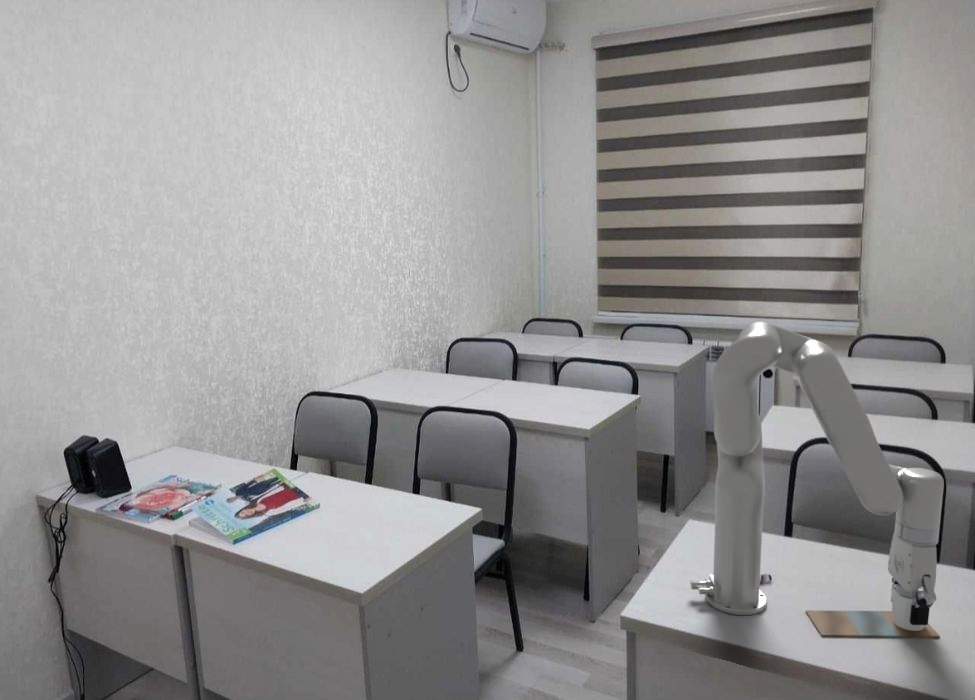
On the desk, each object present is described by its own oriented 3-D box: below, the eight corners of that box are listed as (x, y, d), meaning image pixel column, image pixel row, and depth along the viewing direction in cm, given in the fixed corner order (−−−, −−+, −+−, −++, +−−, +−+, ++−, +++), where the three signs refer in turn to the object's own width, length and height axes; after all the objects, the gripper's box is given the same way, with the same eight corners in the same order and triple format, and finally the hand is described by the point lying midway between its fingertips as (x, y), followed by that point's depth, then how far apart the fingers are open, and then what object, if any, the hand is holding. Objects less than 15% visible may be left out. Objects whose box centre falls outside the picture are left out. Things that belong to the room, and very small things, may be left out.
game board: (821, 636, 148) (821, 634, 148) (805, 612, 157) (805, 610, 157) (939, 637, 147) (939, 636, 147) (916, 613, 156) (917, 611, 155)
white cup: (882, 614, 155) (884, 583, 153) (916, 614, 154) (919, 582, 153) (900, 632, 148) (902, 599, 147) (935, 632, 148) (938, 599, 146)
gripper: (877, 512, 156) (870, 591, 160) (918, 551, 139) (910, 637, 143) (914, 513, 156) (907, 591, 159) (960, 551, 139) (951, 638, 142)
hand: (908, 612), depth 151 cm, fingers open, 7 cm apart
